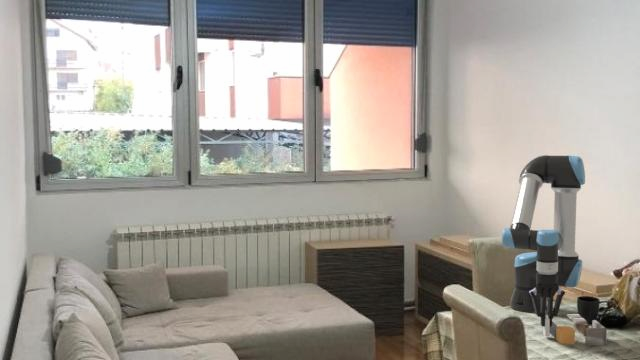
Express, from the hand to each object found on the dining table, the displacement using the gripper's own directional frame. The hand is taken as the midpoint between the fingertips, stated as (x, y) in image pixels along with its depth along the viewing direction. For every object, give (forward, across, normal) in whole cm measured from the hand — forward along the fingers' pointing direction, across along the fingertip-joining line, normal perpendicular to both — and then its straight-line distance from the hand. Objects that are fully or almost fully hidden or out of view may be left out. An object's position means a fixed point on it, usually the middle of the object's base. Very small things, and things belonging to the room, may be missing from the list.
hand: (546, 334), depth 259 cm
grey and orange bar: (+1, +6, +3) cm, 6 cm away
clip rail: (+1, +15, +2) cm, 15 cm away
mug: (+1, +23, +17) cm, 29 cm away
